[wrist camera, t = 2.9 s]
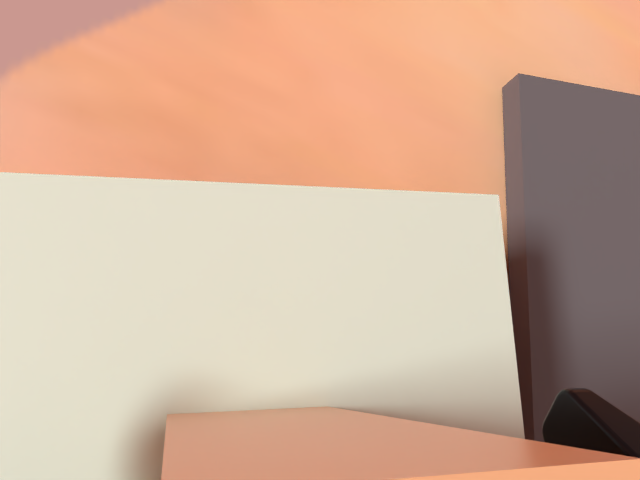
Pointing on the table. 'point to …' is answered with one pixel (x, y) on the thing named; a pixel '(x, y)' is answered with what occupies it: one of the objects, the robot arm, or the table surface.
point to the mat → (573, 242)
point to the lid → (261, 336)
